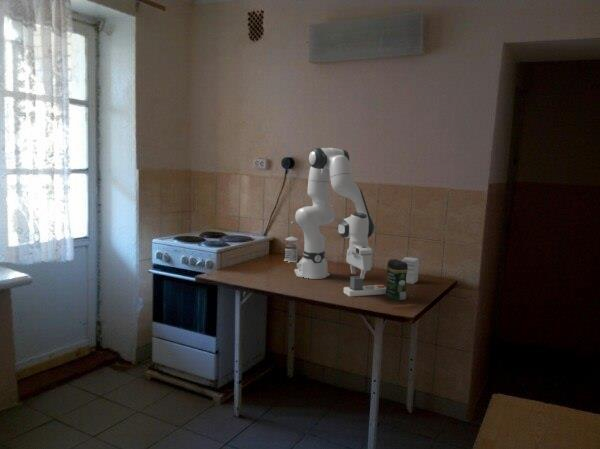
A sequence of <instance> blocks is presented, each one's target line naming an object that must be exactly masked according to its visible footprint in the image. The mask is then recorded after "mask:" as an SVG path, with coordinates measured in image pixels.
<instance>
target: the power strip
mask: <svg viewBox="0 0 600 449" xmlns="http://www.w3.org/2000/svg"><path fill="white" fill-rule="evenodd" d="M386 287H387V286H385V285H384V284H375V285H363V290H356V291H353V290H352V289H350V286H344V287H343V293H344V294H345V295H347V296H348V297H361V296H362V297H363V296H377V295H386Z"/></svg>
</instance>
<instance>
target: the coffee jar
mask: <svg viewBox="0 0 600 449" xmlns="http://www.w3.org/2000/svg"><path fill="white" fill-rule="evenodd" d="M386 268H387V275H386V277H387V280H386V286H385V287H386V294H385V296H386V297H387V298H389V299H392V300H397V301H399V300H400V301H401V300H406V299H407V283H406V275H407V270H408V265H407V263H405V262H402V260H399V259H397V258H395V259H389V260H388V261H387V266H386Z"/></svg>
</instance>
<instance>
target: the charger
mask: <svg viewBox="0 0 600 449" xmlns="http://www.w3.org/2000/svg"><path fill="white" fill-rule="evenodd" d="M349 281H350V282H349V287H350V289H352V290H353V291H356V290H363V286H364V279H361V278H360V275H356V276H350V280H349Z"/></svg>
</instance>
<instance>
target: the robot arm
mask: <svg viewBox="0 0 600 449" xmlns="http://www.w3.org/2000/svg"><path fill="white" fill-rule="evenodd" d="M307 161H308V163H309V165H310V168H309V171H308V179H307V180H308V182H307V191H306V192H307V195H308V197H309V198H311V201H312V205H311V206H310V205H309V206H307V205H306V206H303V207H300V208H298V209H297V210H296V211H295V216H294V218H295V219H294V220H295V222H296V224H297V225H298V226H299V227H300V229H301V230H302V233H303V238H304V239H303V240H304V244H303V245H304V248H303V251H302V257H301V258H300V260H299V261H298V262H296V268H294V274H295V276H296V277H297V276H298V277H297V278H303V277H304V279H308V278H309V280H318V279H319V280H320V279H325V278H327V277H329V276H330V273H329V272H328V260H327V259H326V258H325V257H326V251H325V248H326V247H325V246H326V244H325V243H326V240H325V238H326V237H325V236H324V235H323V234H322V233H321V232H320V226H327V225H328V224H331V223H333V222H334V220H335V218H336V211H335V210H334V208H333V207H332V206H331V203H330V199H329V183H330V186H331V189H332V190H333V191H334V192H335V193H337V194H338V195H339V196H342V197H344V198H346V199H348V200H350V201H351V202H352V203H353V204H354V206H355V210H356V212H353V213H351V214H350V216H348V217H346V218H343V219H340V220H339V222H338V223H337V233H338V235H339V236H340V237H341V238H344V239H349V241H348V243H349V244H348V248H347V250H346V256H345V257H346V259H345V261H346V263H347V264H349V266H350V267H349V268H350V274H352V275H356V274H357V272H356V268H357V269H358V270H359V269H360V274H359V276H360V278H361V279H363V280H364V279H365V277H366V276H365V275H366V273H367V272H368V271H370V270H371V269H372V264H373V263H372V262H373V261H372V260H373V257H372V254H373V248H371V247H370V244H369V239H368V238H370V237H371V236H372V234H373V233H374V231H375V225H374V222H373V219H372V217H371V215H370V211H369V210H368V206H367V202H366V201H365V199H366V198H365V196H364V194H363V191H362V189H361V187H359V186H358V184H356V182H355V180H354V176H353V172H352V171H353V170H352V167H351V164H350V154H349V152H348V151H347V150H345V149H343V148H335V147H316V148H312V149H311V150H310V151H309V153H308V159H307Z"/></svg>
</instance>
